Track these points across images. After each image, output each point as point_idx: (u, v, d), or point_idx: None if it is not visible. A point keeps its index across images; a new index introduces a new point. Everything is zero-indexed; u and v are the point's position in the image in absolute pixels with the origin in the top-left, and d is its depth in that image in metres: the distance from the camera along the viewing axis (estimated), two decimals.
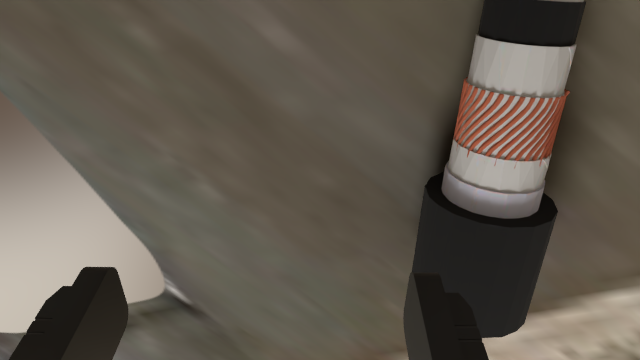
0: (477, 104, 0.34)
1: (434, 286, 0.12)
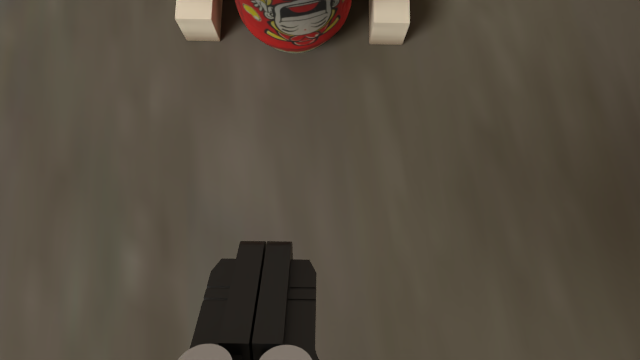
0: None
1: (282, 252, 0.13)
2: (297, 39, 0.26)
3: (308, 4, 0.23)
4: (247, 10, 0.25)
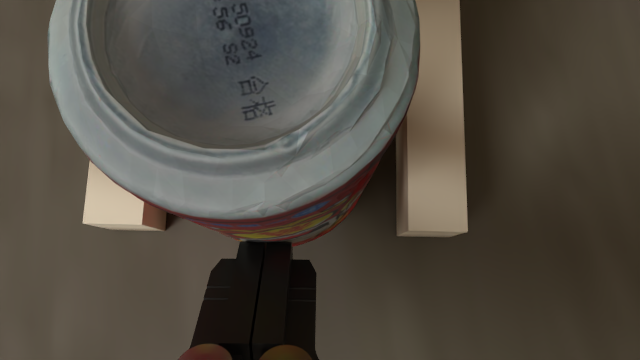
0: None
1: (282, 252, 0.13)
2: None
3: (297, 235, 0.13)
4: None
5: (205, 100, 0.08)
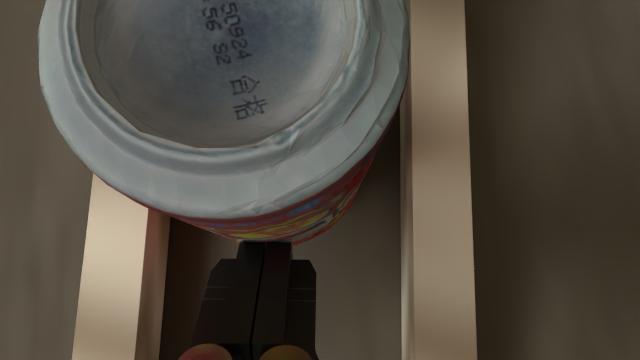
0: None
1: (282, 252, 0.13)
2: None
3: (293, 233, 0.13)
4: None
5: (197, 100, 0.08)
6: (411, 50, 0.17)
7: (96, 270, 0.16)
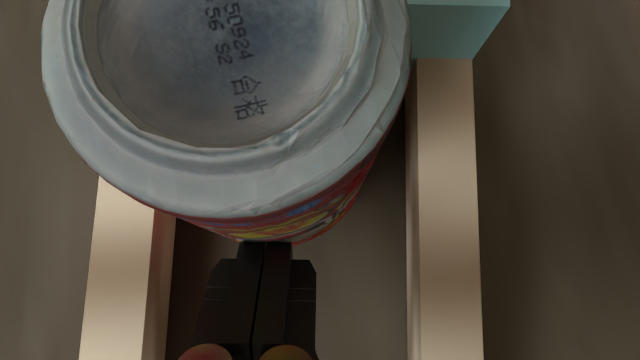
0: None
1: (282, 252, 0.13)
2: None
3: (292, 234, 0.13)
4: None
5: (198, 99, 0.08)
6: (419, 177, 0.17)
7: None
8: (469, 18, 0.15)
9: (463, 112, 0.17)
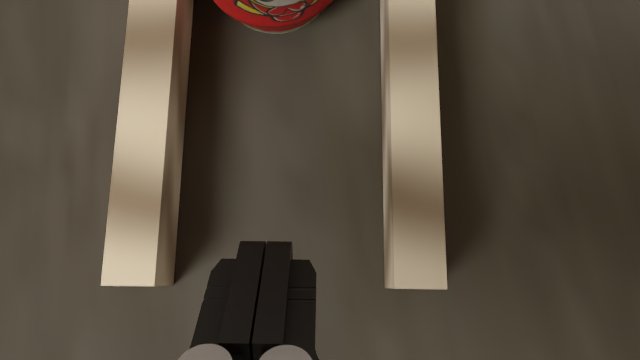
0: None
1: (282, 252, 0.13)
2: (277, 13, 0.20)
3: None
4: None
5: None
6: None
7: (126, 144, 0.19)
8: None
9: None
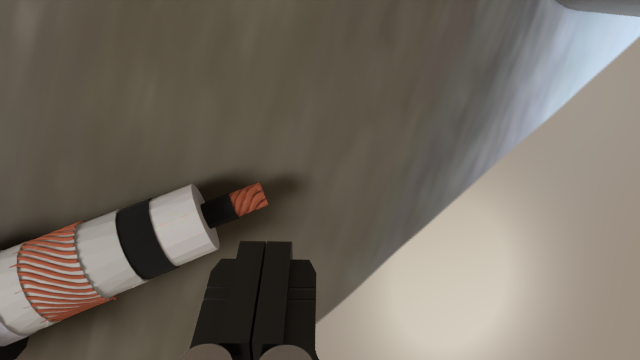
0: (59, 247, 0.37)
1: (282, 252, 0.13)
2: None
3: None
4: None
5: None
6: None
7: None
8: None
9: None
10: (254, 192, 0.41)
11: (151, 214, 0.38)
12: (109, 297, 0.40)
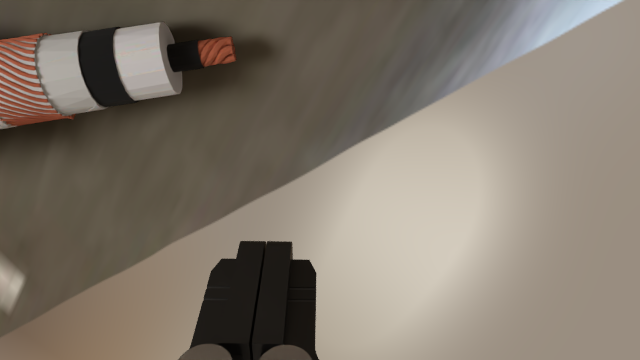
0: (20, 51, 0.38)
1: (282, 252, 0.13)
2: None
3: None
4: None
5: None
6: None
7: None
8: None
9: None
10: (223, 44, 0.40)
11: (114, 40, 0.38)
12: (65, 114, 0.41)
